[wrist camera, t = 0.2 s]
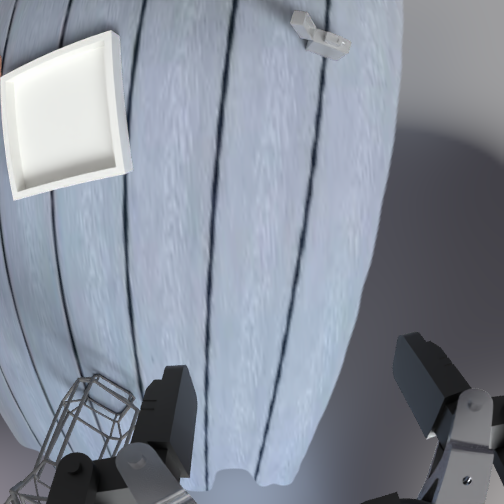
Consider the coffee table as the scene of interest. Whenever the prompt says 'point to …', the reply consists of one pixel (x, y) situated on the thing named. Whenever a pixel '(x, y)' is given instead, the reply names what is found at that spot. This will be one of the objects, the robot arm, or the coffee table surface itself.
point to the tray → (66, 117)
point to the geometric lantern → (71, 392)
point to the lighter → (319, 37)
